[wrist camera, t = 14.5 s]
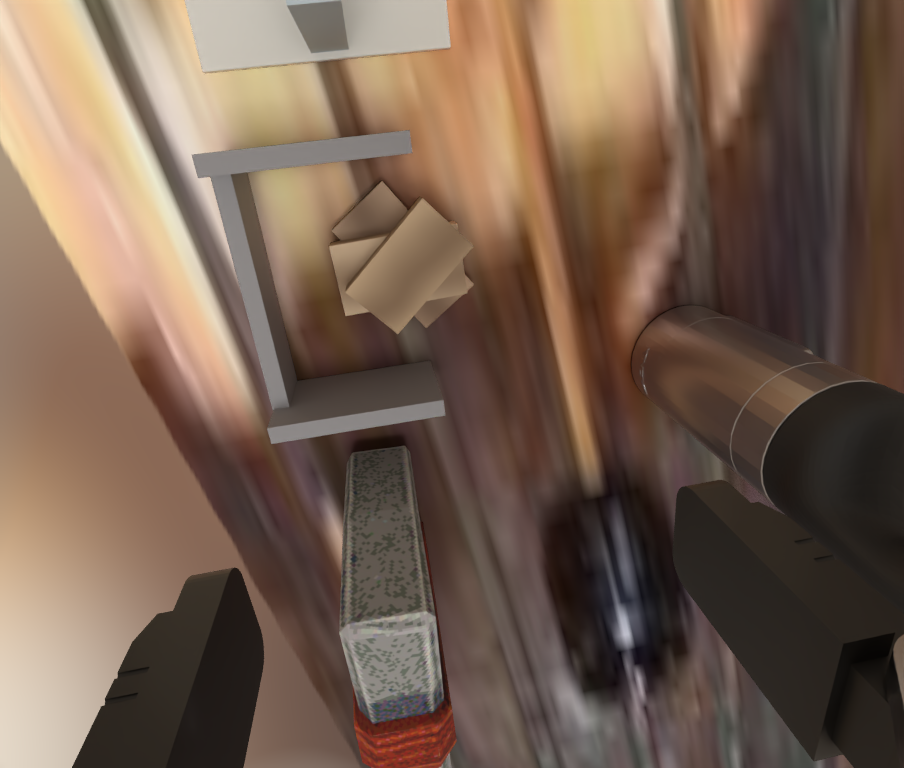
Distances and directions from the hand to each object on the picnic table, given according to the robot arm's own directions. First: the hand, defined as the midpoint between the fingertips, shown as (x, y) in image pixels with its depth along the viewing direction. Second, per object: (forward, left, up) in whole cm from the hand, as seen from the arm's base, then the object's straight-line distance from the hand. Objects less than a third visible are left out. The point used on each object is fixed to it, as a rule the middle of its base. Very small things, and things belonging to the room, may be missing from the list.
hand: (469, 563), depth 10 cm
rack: (+4, +1, -34) cm, 34 cm away
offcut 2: (-1, 0, -31) cm, 31 cm away
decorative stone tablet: (+4, +30, -34) cm, 46 cm away
